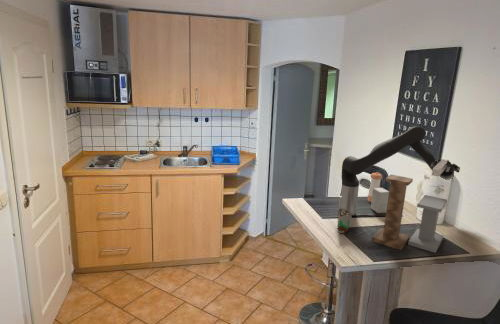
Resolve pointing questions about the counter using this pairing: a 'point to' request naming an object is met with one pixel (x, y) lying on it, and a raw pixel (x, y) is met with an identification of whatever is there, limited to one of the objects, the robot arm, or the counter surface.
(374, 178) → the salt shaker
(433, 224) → the stand
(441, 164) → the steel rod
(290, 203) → the counter surface
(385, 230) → the tall stand
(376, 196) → the small box
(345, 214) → the food container
